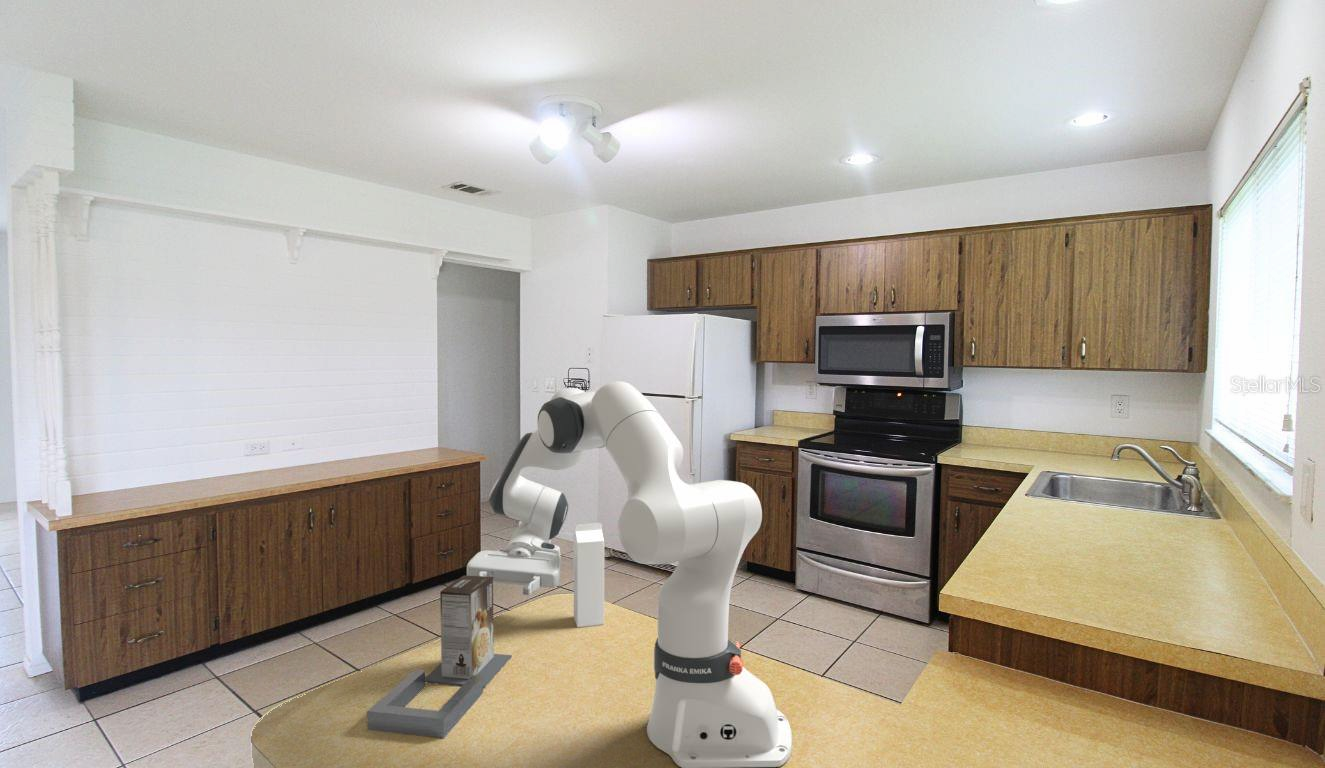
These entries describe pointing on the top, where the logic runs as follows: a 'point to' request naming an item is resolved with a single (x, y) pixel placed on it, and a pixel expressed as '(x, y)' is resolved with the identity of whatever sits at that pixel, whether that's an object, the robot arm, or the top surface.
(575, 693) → the top surface
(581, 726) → the top surface
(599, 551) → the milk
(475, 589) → the coffee box
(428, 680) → the rubber mat
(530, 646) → the top surface
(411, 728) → the u-shaped bracket
